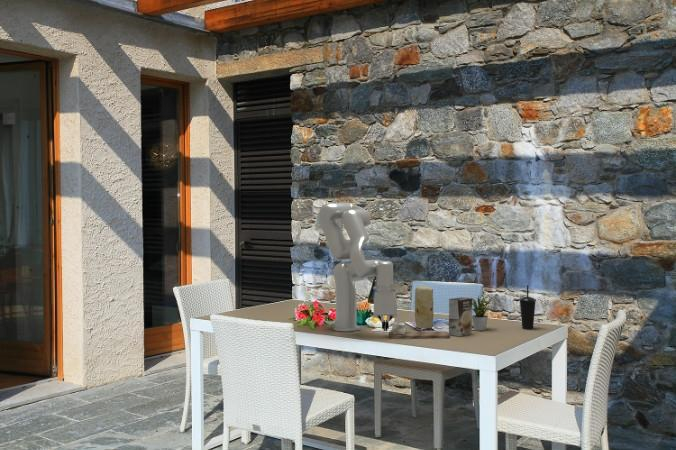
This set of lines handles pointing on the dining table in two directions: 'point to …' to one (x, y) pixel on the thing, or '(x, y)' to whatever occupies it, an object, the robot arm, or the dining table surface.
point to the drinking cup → (527, 311)
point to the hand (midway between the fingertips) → (385, 330)
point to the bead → (398, 328)
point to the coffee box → (460, 316)
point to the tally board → (420, 335)
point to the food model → (424, 307)
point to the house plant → (480, 314)
